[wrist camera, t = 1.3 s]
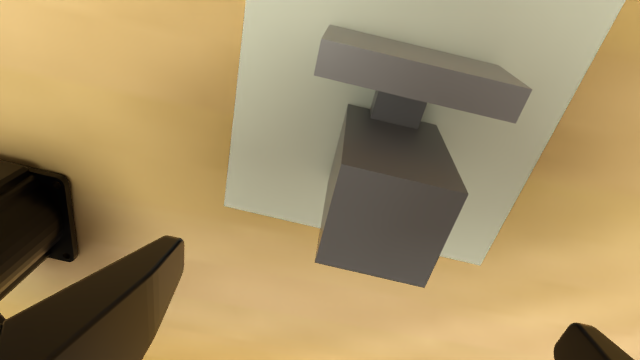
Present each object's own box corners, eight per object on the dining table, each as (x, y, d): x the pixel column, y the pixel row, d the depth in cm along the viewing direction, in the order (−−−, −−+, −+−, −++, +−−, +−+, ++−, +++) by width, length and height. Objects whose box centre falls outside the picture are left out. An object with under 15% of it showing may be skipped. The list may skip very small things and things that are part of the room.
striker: (437, 206, 19) (465, 297, 14) (298, 174, 19) (273, 252, 14) (498, 65, 16) (566, 114, 10) (329, 24, 16) (312, 52, 10)
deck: (471, 242, 23) (480, 265, 21) (234, 187, 22) (223, 206, 21) (733, -269, 12) (794, -308, 11) (303, -380, 12) (292, -439, 10)
